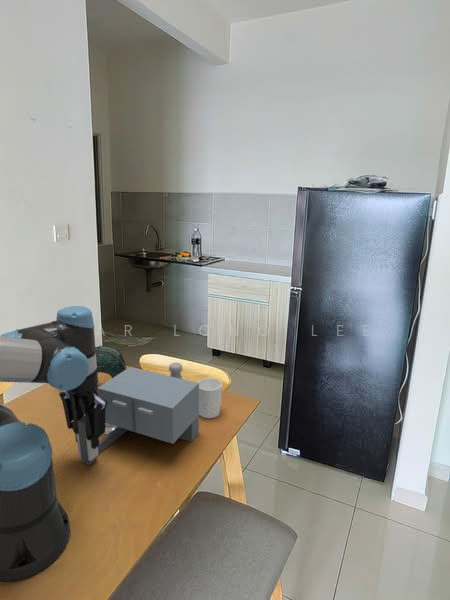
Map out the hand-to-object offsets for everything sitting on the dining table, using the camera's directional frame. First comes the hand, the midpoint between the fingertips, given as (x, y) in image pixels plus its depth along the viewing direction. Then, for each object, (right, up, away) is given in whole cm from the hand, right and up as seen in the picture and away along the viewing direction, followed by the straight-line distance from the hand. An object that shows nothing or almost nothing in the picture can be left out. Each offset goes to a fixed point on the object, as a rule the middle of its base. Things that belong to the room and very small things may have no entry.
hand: (88, 455), depth 95 cm
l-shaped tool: (+3, +1, +7) cm, 8 cm away
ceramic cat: (-9, +8, +35) cm, 38 cm away
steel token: (+2, +2, +13) cm, 14 cm away
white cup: (+30, +4, +23) cm, 38 cm away
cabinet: (+14, +1, +10) cm, 17 cm away
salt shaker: (+18, +6, +29) cm, 35 cm away
